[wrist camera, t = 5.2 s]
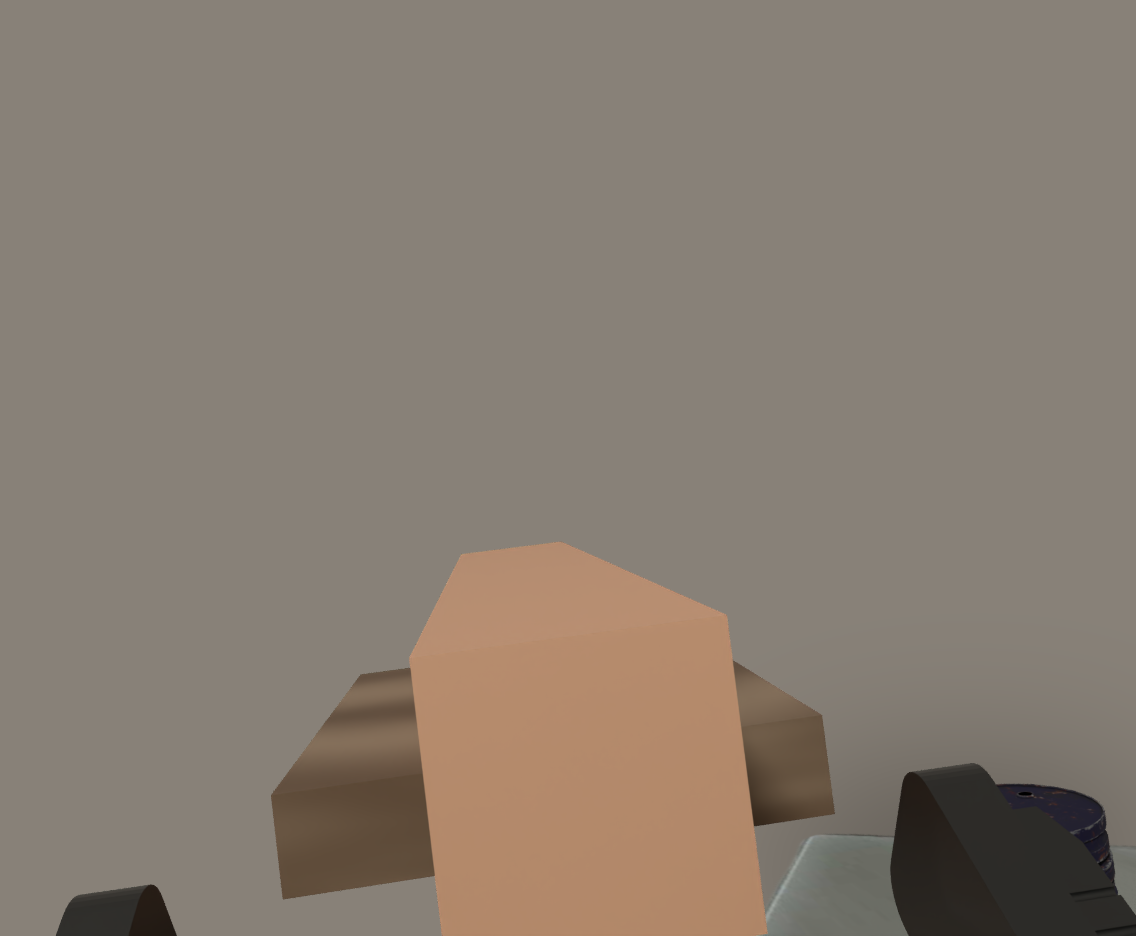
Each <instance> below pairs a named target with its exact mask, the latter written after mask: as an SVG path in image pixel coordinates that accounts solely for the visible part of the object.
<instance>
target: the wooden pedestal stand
mask: <svg viewBox="0 0 1136 936" xmlns="http://www.w3.org/2000/svg"><path fill="white" fill-rule="evenodd" d="M733 667H734V675H735V683H736V691H737V698H738V706H739V714H740V722H741V730H742V738H743V746H744V753H745V761H746V769H747V777H748V785H749V793H750V800H751V808H752V816H753V824H754V826H759V825H766V824H772V823H779V822H785V821H792V820H799V819H805V818H811V817H818V816H824V815H831V814H835V812H834V804H833V797H832V789H831V781H830V774H829V766H828V758H827V750H826V743H825V735H824V727H823V720H822V715H821V714H819V713H818V712H816V711H815V710H813V709H811V708H810V707H808V706H806V705H805V704H803V703H802V702H800V701H798V700H797V699H795V698H793V697H792V696H790V695H788V694H787V693H785V692H784V691H782V690H780V689H779V688H777V687H776V686H774V685H772V684H771V683H769V682H767V681H765V680H764V679H763V678H761V677H759V676H758V675H756V674H754V673H753V672H751V671H750V670H748V669H746V668H745V667H743V666H741V665H740V664H738V663H736V662H735V661H733ZM271 799H272V808H273V816H274V826H275V834H276V843H277V851H278V861H279V870H280V879H281V888H282V896H283V899H288V898H295V897H301V896H308V895H315V894H321V893H327V892H334V891H340V890H346V889H353V888H359V887H366V886H372V885H378V884H386V883H392V882H398V881H404V880H411V879H417V878H424V877H430V876H435V872H434V864H433V855H432V847H431V838H430V830H429V821H428V813H427V804H426V796H425V787H424V779H423V770H422V762H421V753H420V745H419V736H418V728H417V719H416V711H415V703H414V694H413V686H412V677H411V669H410V668H405V669H398V670H390V671H383V672H376V673H368V674H362V675H360V676H359V678H358V679H357V680H356V682H355V683H354V684H353V686H352V687H351V689H350V690H349V691H348V693H347V694H346V695H345V697H344V698H343V699H342V701H341V702H340V703H339V705H338V706H337V707H336V709H335V710H334V711H333V713H332V714H331V715H330V717H329V718H328V719H327V721H326V722H325V723H324V725H323V726H322V728H321V729H320V730H319V731H318V733H317V734H316V735H315V737H314V738H313V740H312V741H311V742H310V744H309V745H308V746H307V748H306V749H305V750H304V752H303V753H302V754H301V756H300V757H299V758H298V760H297V761H296V762H295V764H294V765H293V767H292V768H291V769H290V770H289V772H288V773H287V775H286V776H285V777H284V779H283V780H282V781H281V783H280V784H279V785H278V787H277V788H276V789H275V791H274V792H273V794H272V795H271Z"/></svg>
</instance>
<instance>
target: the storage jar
mask: <svg viewBox="0 0 1136 936" xmlns="http://www.w3.org/2000/svg"><path fill="white" fill-rule="evenodd" d="M996 785H997V787H998V788H999V790H1000V791H1001V793H1002V794H1003V796H1004V797H1005V799H1006V800H1007V802H1008V803H1009V805H1010V806H1011V808H1012V809H1020V808H1027V807H1034V806H1037V807H1038V808H1039V809H1041V810H1042V811H1043V812H1044V813H1046V814H1047V815H1048V816H1050V817H1051V818H1052V819H1053V820H1055V821H1056V822H1057V823H1059V824H1060V825H1061V826H1063V827H1064V828H1065V829H1066V830H1068V831H1069V832H1070V833H1072V834H1073V835H1074V836H1075V837H1077V838H1078V839H1079V840H1081V841H1082V842H1083V844H1084V845H1085V846H1086V848H1087V849H1088V850H1089V852H1090V853H1091V855H1092V856H1093V857H1094V859H1095V860H1096V861H1097V863H1098V864H1099V866H1100V867H1101V868H1102V870H1103V871H1104V872H1105V874H1106V875H1107V877H1108V878H1109V879H1110V881H1111V882H1112V883H1113V885H1114V889H1115V892H1116V894H1117V895H1118V891H1117V888H1116V886H1115V882H1114V877H1115V869H1114V862H1113V855H1112V852H1111V850H1110V846H1109V839H1108V834H1107V832H1106V830H1105V828H1106V817H1105V810H1104V808H1103V806H1102V805H1101V804H1100V803H1099V802H1098V801H1097V800H1095V799H1094V798H1092V797H1090V796H1087V795H1085V794H1082V793H1079V792H1076V791H1072V790H1068V789H1064V788H1059V787H1052V786H1045V785H1034V784H996Z"/></svg>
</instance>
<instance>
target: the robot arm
mask: <svg viewBox="0 0 1136 936" xmlns="http://www.w3.org/2000/svg"><path fill="white" fill-rule="evenodd" d="M890 871H891V883H892V889H893V894H894V898H895V902H896V906H897V909H898V912H899V915H900V918H901V920H902V922H903V925H904V927H905V929H906V931H907V933H908V935H909V936H1136V915H1135V914H1134V912H1133V911H1132V910H1131V908H1130V907H1129V905H1128V904H1127V903H1126V901H1125V900H1124V899H1123V897H1122V896H1121V895H1117V894H1116V892H1115V889H1114V885H1113V883H1112V882H1111V881H1110V879H1109V878H1108V877H1107V875H1106V874H1105V872H1104V871H1103V870H1102V868H1101V867H1100V866H1099V864H1098V863H1097V861H1096V860H1095V859H1094V857H1093V856H1092V855H1091V853H1090V852H1089V850H1088V849H1087V848H1086V846H1085V845H1084V844H1083V842H1082V841H1081V840H1079V839H1078V838H1077V837H1075V836H1074V835H1073V834H1072V833H1070V832H1069V831H1068V830H1066V829H1065V828H1064V827H1063V826H1061V825H1060V824H1059V823H1057V822H1056V821H1055V820H1053V819H1052V818H1051V817H1050V816H1048V815H1047V814H1046V813H1044V812H1043V811H1042V810H1041V809H1039V808H1038V807H1037V806H1034V807H1027V808H1020V809H1012V808H1011V806H1010V805H1009V803H1008V802H1007V800H1006V799H1005V797H1004V796H1003V794H1002V793H1001V791H1000V790H999V788H998V787H997V785H996V784H995V782H994V781H993V779H992V778H991V777H990V775H989V774H988V773H987V772H986V771H985V770H984V769H983V768H982V767H981V766H980V765H978V764H974V763H970V764H964V765H956V766H950V767H942V768H935V769H928V770H921V771H915V772H909V773H907V775H906V776H905V777H904V780H903V784H902V790H901V796H900V803H899V810H898V817H897V824H896V830H895V837H894V844H893V851H892V857H891V866H890ZM56 936H177V935H176V932H175V930H174V927H173V924H172V922H171V919H170V916H169V914H168V911H167V908H166V906H165V903H164V900H163V898H162V895H161V893H160V891H159V890H158V888H157V887H156V886H154V885H145V886H138V887H131V888H124V889H118V890H110V891H103V892H97V893H90V894H83V895H78V896H76V897H74V898H73V899H72V900H71V902H70V903H69V904H68V906H67V908H66V910H65V912H64V915H63V917H62V920H61V923H60V925H59V928H58V931H57V934H56Z"/></svg>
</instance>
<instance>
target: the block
mask: <svg viewBox="0 0 1136 936" xmlns="http://www.w3.org/2000/svg"><path fill="white" fill-rule="evenodd" d="M409 660H410V669H411V677H412V686H413V694H414V703H415V711H416V719H417V728H418V736H419V745H420V753H421V762H422V770H423V779H424V787H425V796H426V804H427V813H428V821H429V830H430V838H431V847H432V855H433V864H434V872H435V881H436V889H437V897H438V906H439V915H440V923H441V931H442V936H756V935H762V934H767V926H766V918H765V910H764V903H763V895H762V887H761V879H760V871H759V863H758V856H757V848H756V840H755V832H754V824H753V816H752V808H751V800H750V793H749V785H748V777H747V769H746V761H745V753H744V746H743V738H742V730H741V722H740V714H739V706H738V698H737V691H736V683H735V675H734V667H733V659H732V651H731V644H730V636H729V628H728V621H727V615H725V614H723V613H721V612H719V611H717V610H714V609H712V608H710V607H708V606H705V605H703V604H701V603H698V602H696V601H694V600H692V599H690V598H687V597H685V596H683V595H681V594H678V593H676V592H674V591H672V590H669V589H667V588H665V587H662V586H660V585H658V584H656V583H653V582H651V581H649V580H647V579H644V578H642V577H640V576H638V575H635V574H633V573H631V572H628V571H626V570H624V569H622V568H620V567H617V566H615V565H613V564H611V563H608V562H606V561H603V560H602V559H599V558H597V557H595V556H593V555H590V554H588V553H586V552H583V551H581V550H579V549H577V548H574V547H572V546H570V545H568V544H565V543H563V542H554V543H547V544H538V545H530V546H523V547H515V548H507V549H499V550H491V551H484V552H475V553H467V554H461V556H460V559H459V560H458V562H457V564H456V566H455V568H454V570H453V572H452V574H451V576H450V578H449V580H448V582H447V584H446V586H445V588H444V590H443V592H442V594H441V596H440V598H439V600H438V602H437V604H436V606H435V608H434V610H433V612H432V614H431V616H430V618H429V620H428V622H427V624H426V626H425V628H424V630H423V632H422V634H421V636H420V638H419V640H418V642H417V644H416V646H415V648H414V650H413V652H412V654H411V656H410V658H409Z"/></svg>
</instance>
